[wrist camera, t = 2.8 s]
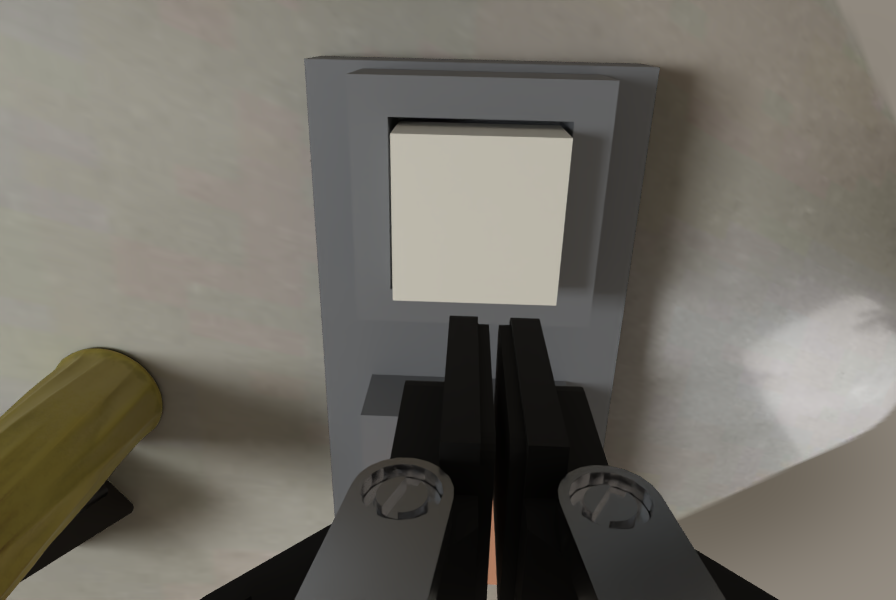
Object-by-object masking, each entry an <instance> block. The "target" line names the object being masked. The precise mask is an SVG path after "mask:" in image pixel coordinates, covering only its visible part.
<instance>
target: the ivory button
mask: <svg viewBox="0 0 896 600" xmlns="http://www.w3.org/2000/svg"><path fill="white" fill-rule="evenodd" d="M572 143H573V138H572V137H571V136H570V135H569V134H568V133H567V132H566V131H565V130H564V129H563V128H562V127H561V126H559V125H521V124H483V123H445V122H407V121H399V123H398V124H397V125H396V126H395V128H394V129H393V130H392V132H391V133H390V158H391V222H392V286H393V300H394V301H425V302H456V303H487V304H518V305H549V306H556V303H557V293H558V283H559V273H560V263H561V253H562V243H563V233H564V223H565V213H566V203H567V193H568V183H569V173H570V163H571V153H572Z"/></svg>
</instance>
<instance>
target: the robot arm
mask: <svg viewBox="0 0 896 600" xmlns="http://www.w3.org/2000/svg"><path fill="white" fill-rule="evenodd" d="M492 505H493V511H494V533H495V555H496V577H497V598H498V600H778V599H777V598H775V597H773V596H772V595H770V594H768V593H766V592H765V591H763V590H762V589H760V588H758V587H757V586H755V585H753V584H752V583H750V582H748V581H747V580H745V579H743V578H742V577H740V576H738V575H737V574H735V573H733V572H732V571H730V570H728V569H727V568H725V567H724V566H722V565H720V564H719V563H717V562H715V561H714V560H712V559H710V558H709V557H707V556H705V555H704V554H702V553H700V552H699V551H697V550H695V549H694V547H693V546H692V544H691V543H690V541H689V539H688V538H687V536H686V535H685V533H684V531H683V530H682V528H681V527H680V525H679V523H678V522H677V520H676V519H675V517H674V515H673V514H672V512H671V510H670V509H669V507H668V506H667V504H666V502H665V501H664V499H663V498H662V496H661V495H660V494H659V492H658V491H657V490H656V489H655V488H654V487H653V485H651V484H650V483H649V482H647V481H646V480H644V479H643V478H642V477H640V476H638V475H636V474H634V473H631V472H629V471H627V470H624V469H620V468H616V467H612V466H608V463H607V460H606V457H605V454H604V451H603V448H602V444H601V441H600V438H599V435H598V432H597V429H596V425H595V422H594V419H593V416H592V413H591V410H590V406H589V403H588V400H587V397H586V394H585V391H584V389H583V387H579V386H555V381H554V377H553V373H552V369H551V365H550V360H549V356H548V352H547V348H546V344H545V339H544V335H543V331H542V327H541V323H540V319H538V318H510V322H509V325H499V328H498V342H497V359H496V376H495V393H494V400H493V383H492V367H491V350H490V333H489V324H478V316H450V317H449V329H448V342H447V355H446V368H445V380H444V382H443V381H416V380H406V381H405V384H404V389H403V394H402V399H401V404H400V410H399V415H398V420H397V425H396V430H395V436H394V441H393V446H392V451H391V457H390V459H387V460H383V461H380V462H378V463H375V464H372V465H370V466H369V467H367V468H366V469H364V470H363V471H362V472H360V473H359V474H358V476H357V477H356V478H355V480H354V481H353V482H352V484H351V486H350V488H349V490H348V492H347V494H346V496H345V498H344V500H343V502H342V504H341V506H340V508H339V510H338V512H337V514H336V516H335V518H334V520H333V522H332V524H331V525H329V526H327V527H325V528H324V529H322V530H320V531H318V532H317V533H315V534H313V535H311V536H310V537H308V538H306V539H304V540H303V541H301V542H299V543H297V544H296V545H294V546H292V547H290V548H288V549H287V550H285V551H283V552H281V553H280V554H278V555H276V556H274V557H273V558H271V559H269V560H267V561H266V562H264V563H262V564H260V565H259V566H257V567H255V568H253V569H252V570H250V571H248V572H246V573H245V574H243V575H241V576H239V577H238V578H236V579H234V580H232V581H231V582H229V583H227V584H225V585H224V586H222V587H220V588H218V589H217V590H215V591H213V592H211V593H210V594H208V595H206V596H205V597H203V598H202V599H200V600H487V584H488V568H489V552H490V537H491V521H492Z"/></svg>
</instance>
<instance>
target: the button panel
mask: <svg viewBox="0 0 896 600" xmlns="http://www.w3.org/2000/svg"><path fill="white" fill-rule="evenodd" d="M304 62H305V77H306V92H307V107H308V122H309V137H310V152H311V167H312V182H313V197H314V212H315V227H316V242H317V257H318V272H319V288H320V303H321V318H322V333H323V348H324V363H325V378H326V393H327V408H328V423H329V438H330V453H331V468H332V483H333V498H334V513H335V516H336V514H337V512H338V510H339V508H340V506H341V504H342V502H343V500H344V498H345V496H346V494H347V492H348V490H349V488H350V486H351V484H352V482H353V481H354V480H355V478H356V477H357V476H358V474H359V473H360V472H362V471H363V470H364V469H366V468H367V467H369V466H370V465H372V464H375V463H378V462H380V461H383V460H387V459H390V457H391V451H392V446H393V441H394V436H395V430H396V425H397V420H398V415H399V410H400V404H401V399H402V394H403V389H404V384H405V381H406V380H416V381H443V382H444V380H445V368H446V355H447V342H448V329H449V317H450V316H478V324H489V333H490V350H491V367H492V383H493V400H494V393H495V376H496V359H497V342H498V328H499V325H509V322H510V318H538V319H540V323H541V327H542V331H543V335H544V339H545V344H546V348H547V352H548V356H549V360H550V365H551V369H552V373H553V377H554V381H555V386H579V387H583V389H584V391H585V394H586V397H587V400H588V403H589V406H590V410H591V413H592V416H593V419H594V422H595V425H596V429H597V432H598V435H599V438H600V441H601V444H602V448H604V441H605V434H606V427H607V421H608V414H609V407H610V400H611V394H612V387H613V380H614V373H615V367H616V360H617V353H618V346H619V340H620V333H621V326H622V319H623V313H624V306H625V299H626V292H627V286H628V279H629V272H630V265H631V259H632V252H633V245H634V238H635V232H636V225H637V218H638V211H639V205H640V198H641V191H642V184H643V178H644V171H645V164H646V157H647V151H648V144H649V137H650V130H651V124H652V117H653V110H654V103H655V97H656V90H657V83H658V76H659V70H660V67H655V66H649V65H644V64H629V63H588V62H547V61H505V60H464V59H423V58H382V57H340V56H318V57H312V58H306V59H304ZM399 121H407V122H445V123H483V124H521V125H559V126H561V127H562V128H563V129H564V130H565V131H566V132H567V133H568V134H569V135H570V136H571V137H572V138H573V143H572V153H571V163H570V173H569V183H568V193H567V203H566V213H565V223H564V233H563V243H562V253H561V263H560V273H559V283H558V293H557V303H556V306H549V305H518V304H487V303H456V302H425V301H394V300H393V286H392V222H391V158H390V133H391V132H392V130H393V129H394V128H395V126H396V125H397V124H398V123H399Z"/></svg>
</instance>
